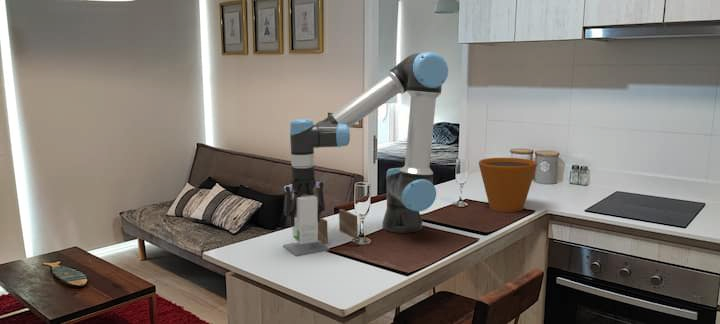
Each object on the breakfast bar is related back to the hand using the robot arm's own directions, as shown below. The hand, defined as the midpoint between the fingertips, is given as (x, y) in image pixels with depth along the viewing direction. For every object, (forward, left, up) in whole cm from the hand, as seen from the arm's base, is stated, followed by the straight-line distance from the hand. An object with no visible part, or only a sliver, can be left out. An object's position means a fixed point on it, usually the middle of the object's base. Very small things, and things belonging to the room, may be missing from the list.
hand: (305, 233), depth 181 cm
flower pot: (-95, -4, -5) cm, 95 cm away
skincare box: (0, 0, -2) cm, 2 cm away
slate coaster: (0, 0, -5) cm, 5 cm away
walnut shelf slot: (-14, -7, -5) cm, 17 cm away
